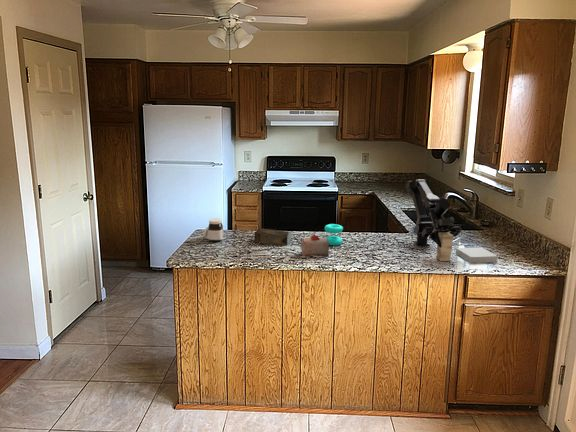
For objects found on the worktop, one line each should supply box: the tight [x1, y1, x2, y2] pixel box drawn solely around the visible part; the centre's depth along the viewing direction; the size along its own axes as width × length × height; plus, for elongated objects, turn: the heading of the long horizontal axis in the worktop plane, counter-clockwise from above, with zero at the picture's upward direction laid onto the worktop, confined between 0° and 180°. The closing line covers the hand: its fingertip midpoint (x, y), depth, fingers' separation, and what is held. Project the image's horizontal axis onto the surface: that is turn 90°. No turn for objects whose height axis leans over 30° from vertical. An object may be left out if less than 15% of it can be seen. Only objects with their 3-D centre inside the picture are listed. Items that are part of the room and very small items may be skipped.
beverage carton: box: [254, 227, 292, 246], centre depth 251 cm, size 8×19×7 cm, turn 74°
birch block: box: [435, 232, 454, 262], centre depth 226 cm, size 5×5×13 cm
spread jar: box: [202, 218, 224, 243], centre depth 252 cm, size 12×11×12 cm
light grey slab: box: [455, 246, 498, 264], centre depth 231 cm, size 14×14×3 cm
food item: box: [300, 234, 330, 257], centre depth 231 cm, size 14×8×10 cm, turn 97°
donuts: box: [324, 223, 344, 246], centre depth 250 cm, size 10×10×10 cm
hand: (445, 247), depth 224 cm, fingers closed on birch block, 5 cm apart
